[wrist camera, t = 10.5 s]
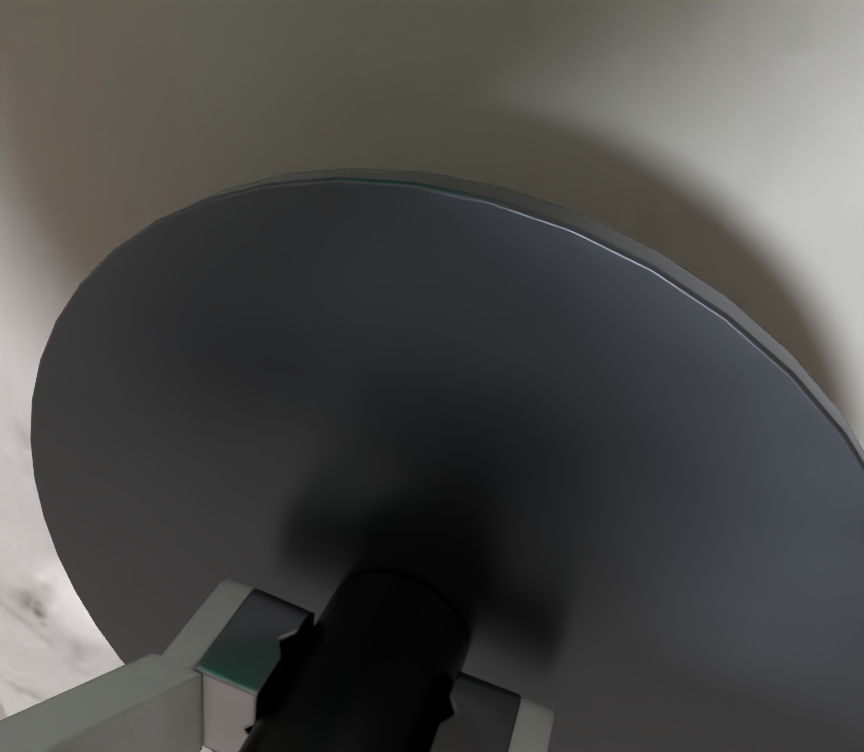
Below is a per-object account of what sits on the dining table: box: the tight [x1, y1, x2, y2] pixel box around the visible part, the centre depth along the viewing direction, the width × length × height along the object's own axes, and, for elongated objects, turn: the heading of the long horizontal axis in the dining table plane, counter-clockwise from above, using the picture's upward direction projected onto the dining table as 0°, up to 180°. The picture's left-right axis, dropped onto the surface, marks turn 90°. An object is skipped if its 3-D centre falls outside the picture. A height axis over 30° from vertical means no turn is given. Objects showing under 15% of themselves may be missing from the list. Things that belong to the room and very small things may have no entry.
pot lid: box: [30, 168, 864, 752], centre depth 11 cm, size 15×15×5 cm
